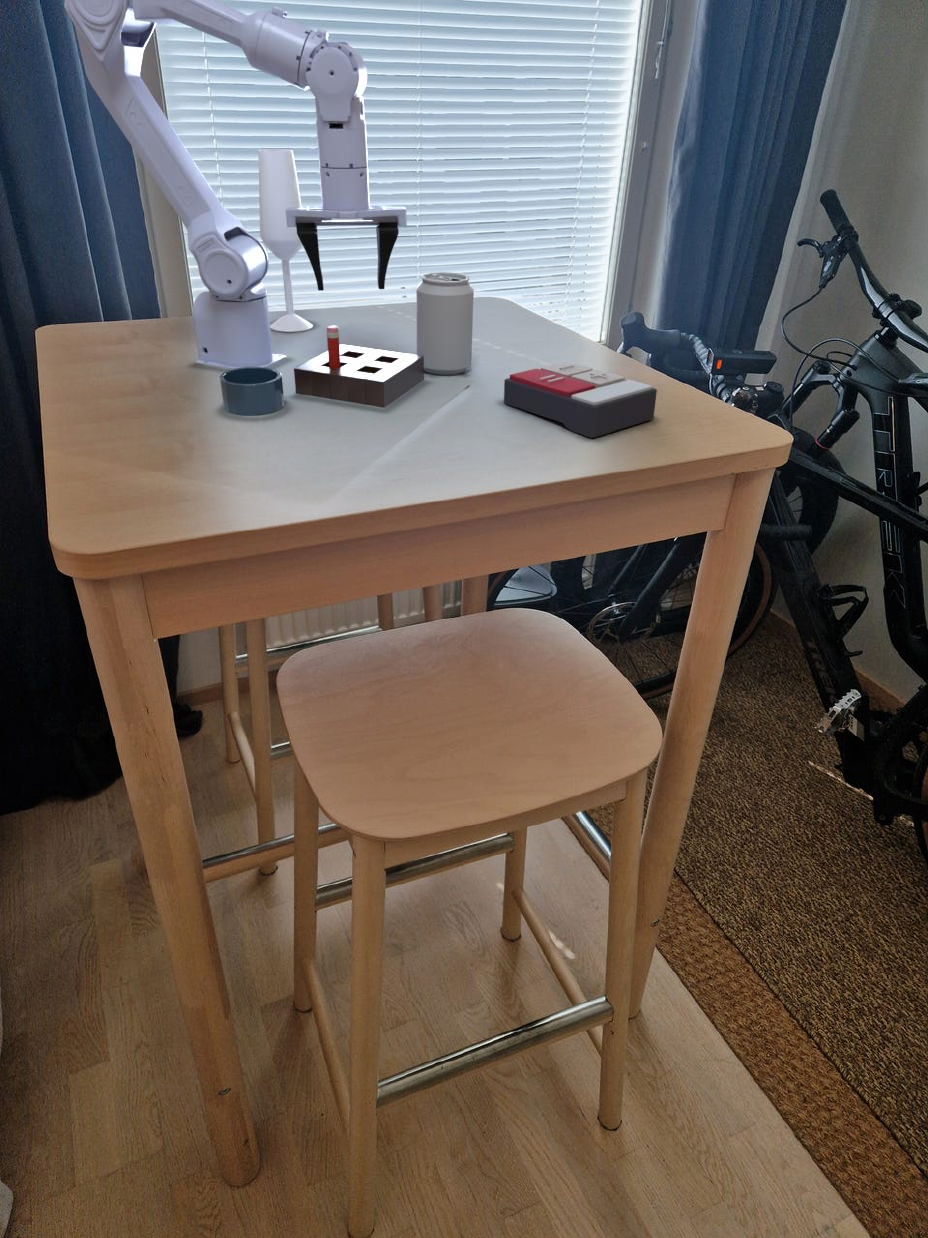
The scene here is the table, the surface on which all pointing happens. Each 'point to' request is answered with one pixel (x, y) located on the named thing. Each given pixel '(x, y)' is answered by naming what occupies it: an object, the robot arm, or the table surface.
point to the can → (445, 322)
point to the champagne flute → (280, 222)
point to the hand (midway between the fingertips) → (351, 288)
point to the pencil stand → (360, 376)
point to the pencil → (333, 346)
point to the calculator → (581, 398)
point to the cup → (252, 391)
